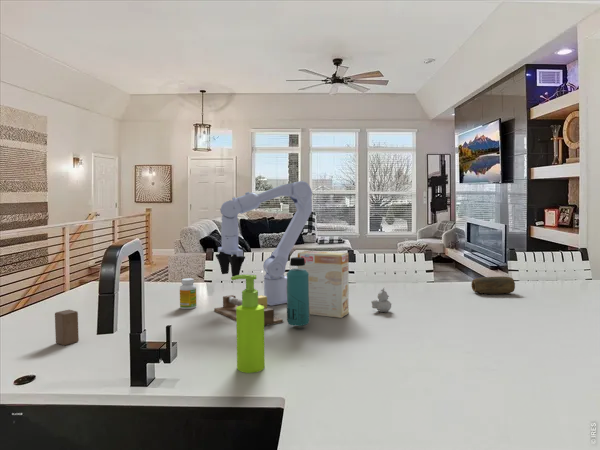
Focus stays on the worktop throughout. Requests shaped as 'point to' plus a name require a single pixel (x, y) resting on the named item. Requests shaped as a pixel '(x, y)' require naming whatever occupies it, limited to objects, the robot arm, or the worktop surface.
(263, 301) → the yellow notched block
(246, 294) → the soap dispenser
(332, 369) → the worktop surface
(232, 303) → the rail
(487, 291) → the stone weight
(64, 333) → the wooden block
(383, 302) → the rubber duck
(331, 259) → the coffeecake box
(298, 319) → the beverage bottle
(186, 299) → the supplement bottle
